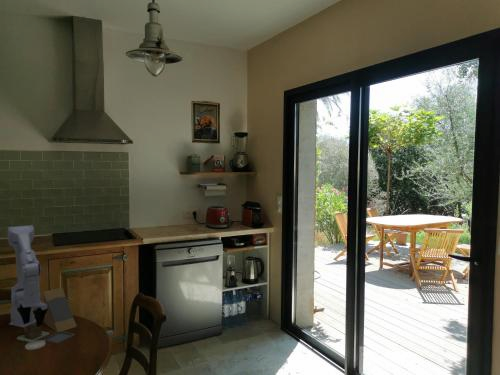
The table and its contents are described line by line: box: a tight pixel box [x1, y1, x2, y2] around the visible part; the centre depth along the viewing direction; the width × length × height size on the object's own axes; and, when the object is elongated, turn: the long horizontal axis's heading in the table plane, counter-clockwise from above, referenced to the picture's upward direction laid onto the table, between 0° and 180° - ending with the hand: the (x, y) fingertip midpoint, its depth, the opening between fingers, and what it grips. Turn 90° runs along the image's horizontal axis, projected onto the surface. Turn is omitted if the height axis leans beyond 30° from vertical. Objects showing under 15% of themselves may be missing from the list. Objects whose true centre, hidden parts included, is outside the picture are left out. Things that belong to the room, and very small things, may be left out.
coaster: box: [24, 339, 46, 351], centre depth 152 cm, size 7×7×1 cm
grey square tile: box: [42, 331, 76, 345], centre depth 158 cm, size 8×8×1 cm
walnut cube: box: [23, 322, 43, 340], centre depth 160 cm, size 4×4×5 cm
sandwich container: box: [42, 287, 77, 333], centre depth 171 cm, size 9×15×15 cm, turn 48°
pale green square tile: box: [16, 330, 50, 343], centre depth 160 cm, size 8×8×1 cm
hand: (33, 324), depth 159 cm, fingers open, 7 cm apart
